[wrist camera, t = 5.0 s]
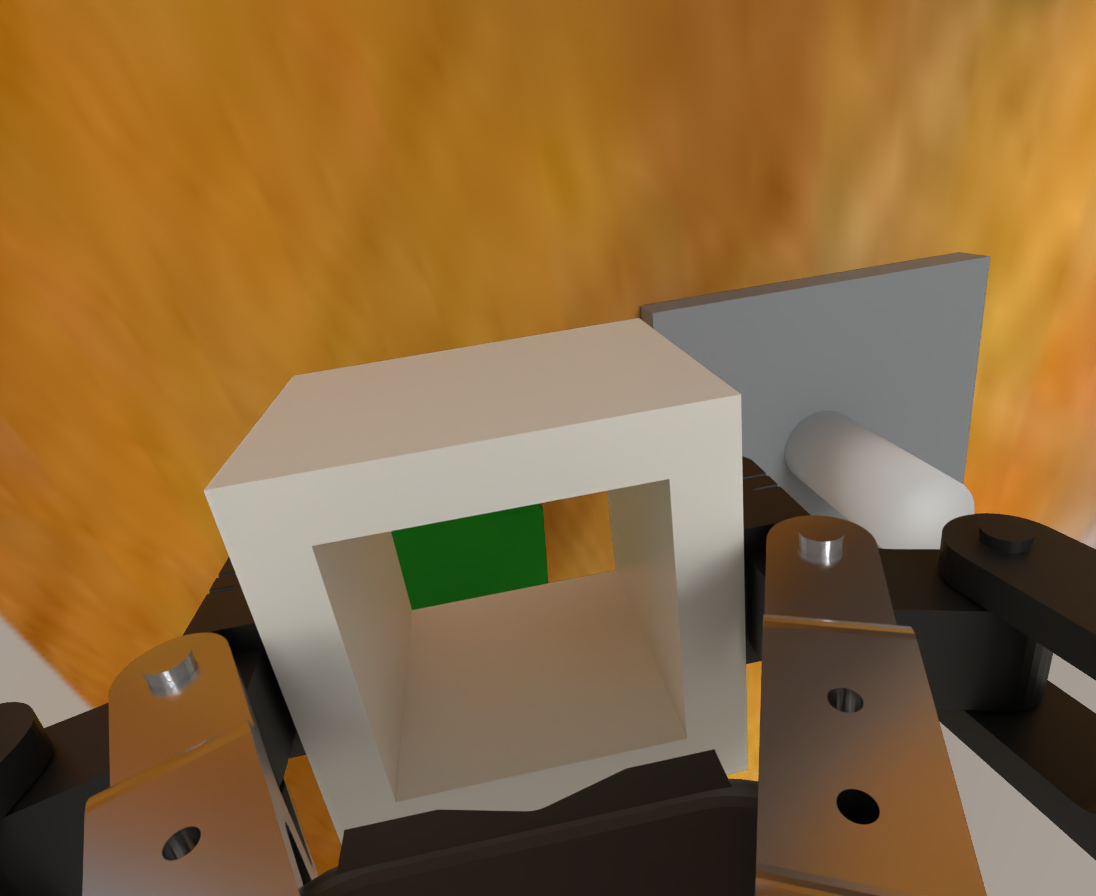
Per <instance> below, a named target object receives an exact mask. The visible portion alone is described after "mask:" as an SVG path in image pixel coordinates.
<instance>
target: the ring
mask: <svg viewBox="0 0 1096 896" xmlns="http://www.w3.org/2000/svg"><path fill="white" fill-rule="evenodd" d="M203 491H204V493H205V496H206V498H207V501H208V504H209V506H210V509H211V511H212V514H213V516H214V519H215V522H216V524H217V527H218V529H219V532H220V534H221V537H222V540H223V542H224V545H225V547H226V550H227V552H228V555H229V557H230V560H231V563H232V565H233V568H234V570H235V573H236V575H237V578H238V581H239V583H240V586H241V588H242V591H243V593H244V596H245V599H246V601H247V604H248V606H249V609H250V611H251V614H252V617H253V619H254V622H255V624H256V627H257V629H258V632H259V634H260V637H261V640H262V642H263V645H264V647H265V650H266V652H267V655H268V658H269V660H270V663H271V665H272V668H273V670H274V673H275V676H276V678H277V681H278V683H279V686H280V688H281V691H282V694H283V696H284V699H285V701H286V704H287V706H288V709H289V711H290V714H291V717H292V719H293V722H294V724H295V727H296V729H297V732H298V735H299V737H300V740H301V742H302V745H303V747H304V750H305V753H306V755H307V758H308V760H309V763H310V765H311V768H312V770H313V773H314V776H315V778H316V781H317V783H318V786H319V788H320V791H321V794H322V796H323V799H324V801H325V804H326V806H327V809H328V812H329V814H330V817H331V819H332V822H333V824H334V827H335V830H336V832H337V835H338V837H339V840H340V842H341V845H342V840H343V834H344V830H346V829H351V828H355V827H360V826H365V825H369V824H374V823H378V822H383V821H388V820H392V819H397V818H401V817H406V816H410V815H415V814H420V813H424V812H429V811H433V810H487V811H534V810H539V809H542V808H544V807H547V806H549V805H551V804H553V803H555V802H557V801H559V800H561V799H563V798H565V797H568V796H570V795H572V794H574V793H576V792H578V791H580V790H582V789H584V788H586V787H588V786H591V785H593V784H595V783H597V782H599V781H601V780H603V779H605V778H607V777H609V776H611V775H614V774H616V773H618V772H620V771H622V770H624V769H626V768H630V767H635V766H640V765H644V764H649V763H653V762H658V761H663V760H667V759H672V758H676V757H681V756H686V755H690V754H695V753H699V752H704V751H708V750H713V749H715V752H716V754H717V756H718V758H719V760H720V762H721V765H722V767H723V769H724V771H725V773H726V774H731V773H735V772H740V771H744V770H748V748H747V693H746V638H745V582H744V527H743V472H742V416H741V394H740V393H739V392H737V391H736V390H735V389H733V388H732V387H731V386H729V385H728V384H727V383H725V382H724V381H723V380H721V379H720V378H719V377H717V376H716V375H715V374H713V373H712V372H710V371H709V370H708V369H706V368H705V367H704V366H702V365H701V364H700V363H698V362H697V361H696V360H694V359H693V358H692V357H690V356H689V355H688V354H686V353H685V352H684V351H682V350H681V349H680V348H678V347H677V346H676V345H674V344H673V343H672V342H670V341H669V340H668V339H666V338H665V337H664V336H662V335H661V334H660V333H658V332H657V331H656V330H654V329H653V328H652V327H650V326H649V325H648V324H646V323H645V322H644V321H642V320H641V319H639V318H635V319H629V320H623V321H617V322H611V323H605V324H599V325H593V326H588V327H582V328H576V329H570V330H564V331H558V332H552V333H546V334H540V335H534V336H528V337H522V338H516V339H510V340H504V341H498V342H492V343H486V344H480V345H474V346H468V347H462V348H456V349H450V350H444V351H439V352H433V353H427V354H421V355H415V356H409V357H403V358H397V359H391V360H385V361H379V362H373V363H367V364H361V365H355V366H349V367H343V368H337V369H331V370H325V371H319V372H313V373H307V374H301V375H296V376H293V377H292V378H291V379H290V381H289V382H288V383H287V384H286V386H285V387H284V388H283V390H282V391H281V392H280V393H279V395H278V396H277V397H276V398H275V400H274V401H273V402H272V404H271V405H270V406H269V407H268V409H267V410H266V411H265V413H264V414H263V415H262V416H261V418H260V419H259V420H258V421H257V423H256V424H255V425H254V427H253V428H252V429H251V430H250V432H249V433H248V434H247V436H246V437H245V438H244V439H243V441H242V442H241V443H240V444H239V446H238V447H237V448H236V450H235V451H234V452H233V453H232V455H231V456H230V457H229V459H228V460H227V461H226V462H225V464H224V465H223V466H222V467H221V469H220V470H219V471H218V473H217V474H216V475H215V476H214V478H213V479H212V480H211V482H210V483H209V484H208V485H207V487H206V488H205V489H204V490H203ZM602 491H607V496H608V504H609V513H610V522H611V531H612V540H613V549H614V558H615V567H616V570H614V571H609V572H604V573H599V574H593V575H588V576H583V577H578V578H573V579H568V580H563V581H558V582H553V583H548V584H543V585H538V586H533V587H527V588H522V589H517V590H512V591H507V592H502V593H497V594H492V595H487V596H482V597H477V598H472V599H466V600H461V601H456V602H451V603H446V604H441V605H436V606H431V607H426V608H421V609H416V610H412V608H411V605H410V601H409V597H408V593H407V590H406V586H405V582H404V579H403V575H402V571H401V567H400V564H399V560H398V556H397V552H396V549H395V545H394V541H393V537H392V534H391V531H394V530H400V529H405V528H410V527H416V526H421V525H426V524H432V523H437V522H442V521H448V520H453V519H458V518H464V517H469V516H474V515H480V514H485V513H490V512H496V511H501V510H506V509H512V508H517V507H522V506H528V505H533V504H538V503H544V502H549V501H554V500H560V499H565V498H570V497H576V496H581V495H586V494H592V493H597V492H602Z"/></svg>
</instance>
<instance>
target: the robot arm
mask: <svg viewBox="0 0 1096 896" xmlns="http://www.w3.org/2000/svg"><path fill="white" fill-rule="evenodd" d="M742 472H743V527H744V582H745V638H746V664H749V663H753V662H758V661H762V676H761V711H760V747H759V782H758V781H750V780H742V779H728V778H727V775H726V773H725V771H724V769H723V767H722V765H721V762H720V760H719V758H718V756H717V754H716V752H715V749H713V750H708V751H704V752H699V753H695V754H690V755H686V756H681V757H676V758H672V759H667V760H663V761H658V762H653V763H649V764H644V765H640V766H635V767H630V768H626V769H624V770H622V771H620V772H618V773H616V774H614V775H611V776H609V777H607V778H605V779H603V780H601V781H599V782H597V783H595V784H593V785H591V786H588V787H586V788H584V789H582V790H580V791H578V792H576V793H574V794H572V795H570V796H568V797H565V798H563V799H561V800H559V801H557V802H555V803H553V804H551V805H549V806H547V807H544V808H542V809H539V810H534V811H487V810H433V811H429V812H424V813H420V814H415V815H410V816H406V817H401V818H397V819H392V820H388V821H383V822H378V823H374V824H369V825H365V826H360V827H355V828H351V829H346V830H344V834H343V840H342V846H341V852H340V858H339V864H338V866H337V867H335V868H333V869H331V870H329V871H327V872H325V873H323V874H321V875H320V876H318V873H317V870H316V867H315V864H314V861H313V858H312V855H311V852H310V849H309V847H308V844H307V841H306V838H305V835H304V832H303V829H302V826H301V823H300V820H299V817H298V814H297V811H296V808H295V805H294V802H293V799H292V796H291V793H290V791H289V788H288V786H287V783H286V781H285V778H284V773H285V770H286V766H287V762H288V759H289V758H292V757H297V756H302V755H306V753H305V750H304V747H303V745H302V742H301V740H300V737H299V735H298V732H297V729H296V727H295V724H294V722H293V719H292V717H291V714H290V711H289V709H288V706H287V704H286V701H285V699H284V696H283V694H282V691H281V688H280V686H279V683H278V681H277V678H276V676H275V673H274V670H273V668H272V665H271V663H270V660H269V658H268V655H267V652H266V650H265V647H264V645H263V642H262V640H261V637H260V634H259V632H258V629H257V627H256V624H255V622H254V619H253V617H252V614H251V611H250V609H249V606H248V604H247V601H246V599H245V596H244V593H243V591H242V588H241V586H240V583H239V581H238V578H237V575H236V573H235V570H234V568H233V565H232V563H231V560H230V557H229V558H228V559H227V561H226V563H225V565H224V566H223V568H222V570H221V571H220V573H219V578H216V580H215V582H214V583H213V585H212V587H211V588H210V590H209V591H210V594H207V595H206V597H205V599H204V600H203V602H202V604H201V605H200V607H199V609H198V611H197V612H196V614H195V616H194V617H193V619H192V621H191V623H190V624H189V626H188V628H187V629H186V631H185V633H184V634H183V636H181V637H178V638H175V639H172V640H169V641H167V642H164V643H162V644H160V645H158V646H156V647H154V648H152V649H150V650H149V651H147V652H145V653H144V654H142V655H141V656H139V657H138V658H136V659H135V660H134V661H133V662H131V663H130V664H129V665H128V666H127V667H126V668H124V669H123V670H122V671H121V673H120V674H119V675H118V676H117V677H116V679H115V680H114V682H113V683H112V685H111V688H110V690H109V696H108V697H109V703H107V704H104V705H102V706H100V707H97V708H95V709H92V710H89V711H87V712H84V713H82V714H79V715H77V716H75V717H72V718H69V719H67V720H64V721H62V722H59V723H56V724H54V725H52V726H49V727H46V728H43V726H42V724H41V723H40V721H39V719H38V718H37V716H36V714H35V713H34V711H33V709H32V708H31V707H30V706H29V705H27V704H24V703H19V702H9V703H8V702H7V703H2V704H0V896H987V894H986V891H985V887H984V883H983V880H982V876H981V873H980V869H979V865H978V862H977V858H976V854H975V851H974V847H973V843H972V840H971V836H970V833H969V829H968V825H967V821H966V818H965V814H964V810H963V807H962V803H961V800H960V796H959V792H958V789H957V785H956V781H955V778H954V774H953V770H952V767H951V763H950V759H949V756H948V752H947V749H946V745H945V741H944V738H943V734H942V730H941V727H940V723H939V721H940V722H941V723H942V724H943V725H944V726H946V727H947V728H948V729H949V730H950V731H951V732H952V733H953V734H954V735H956V736H957V737H958V738H959V739H960V740H961V741H962V742H963V743H965V744H966V745H967V746H968V747H969V748H970V749H971V750H972V751H974V752H975V753H976V754H977V755H978V756H979V757H980V758H981V759H983V760H984V761H985V762H986V763H987V764H988V765H989V766H990V767H991V768H993V769H994V770H995V771H996V772H997V773H998V774H999V775H1001V776H1002V777H1003V778H1004V779H1005V780H1006V781H1007V782H1008V783H1010V784H1011V785H1012V786H1013V787H1014V788H1015V789H1016V790H1017V791H1018V792H1020V793H1021V794H1022V795H1023V796H1024V797H1025V798H1026V799H1027V800H1029V801H1030V802H1031V803H1032V804H1033V805H1034V806H1035V807H1037V808H1038V809H1039V810H1040V811H1041V812H1042V813H1043V814H1044V815H1046V816H1047V817H1048V818H1049V819H1050V820H1051V821H1052V822H1053V823H1055V824H1056V825H1057V826H1058V827H1059V828H1060V829H1061V830H1063V832H1065V833H1066V834H1067V835H1068V836H1069V837H1070V838H1071V839H1073V840H1074V841H1075V842H1076V843H1077V844H1078V845H1079V846H1080V847H1081V848H1083V849H1084V850H1085V851H1086V852H1087V853H1088V854H1089V855H1090V856H1091V857H1093V858H1094V859H1095V860H1096V713H1094V712H1093V711H1091V710H1090V709H1088V708H1087V707H1086V706H1084V705H1083V704H1081V703H1080V702H1078V701H1077V700H1075V699H1074V698H1072V697H1071V696H1070V695H1068V694H1067V693H1065V692H1064V691H1062V690H1061V689H1060V688H1058V687H1057V686H1055V685H1054V684H1052V683H1051V682H1050V681H1048V680H1047V679H1048V674H1049V669H1050V665H1051V660H1052V656H1053V653H1054V654H1056V655H1058V656H1059V657H1061V658H1062V659H1064V660H1065V661H1067V662H1068V663H1070V664H1071V665H1073V666H1075V667H1076V668H1078V669H1079V670H1081V671H1082V672H1084V673H1085V674H1087V675H1088V676H1090V677H1091V678H1093V679H1094V680H1096V549H1094V548H1091V547H1089V546H1087V545H1085V544H1083V543H1081V542H1079V541H1077V540H1075V539H1073V538H1070V537H1068V536H1066V535H1064V534H1062V533H1060V532H1058V531H1056V530H1054V529H1052V528H1049V527H1047V526H1045V525H1042V524H1040V523H1037V522H1034V521H1031V520H1028V519H1024V518H1020V517H1015V516H1010V515H1003V514H989V513H983V514H970V515H965V516H960V517H957V518H955V519H952V520H951V521H949V522H948V523H947V524H946V525H945V526H944V527H943V530H942V535H941V544H940V549H883V548H878V546H877V542H876V540H875V538H874V537H873V536H872V534H871V533H869V532H868V531H867V530H866V529H864V528H863V527H861V526H859V525H857V524H855V523H853V522H850V521H847V520H844V519H840V518H836V517H830V516H819V515H810V514H809V513H808V512H807V511H806V510H805V509H804V508H803V507H802V506H801V505H800V504H799V503H797V502H796V501H795V500H794V499H793V498H792V497H791V496H790V495H789V494H788V493H787V492H786V491H785V490H784V489H783V488H781V487H778V485H777V483H776V482H775V481H774V480H773V479H772V478H771V477H770V476H769V475H768V476H766V473H765V472H764V471H763V470H762V469H761V468H760V467H759V466H758V465H757V464H756V463H755V462H754V461H753V460H751V459H749V458H746V457H744V456H742Z"/></svg>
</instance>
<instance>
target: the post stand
mask: <svg viewBox="0 0 1096 896" xmlns="http://www.w3.org/2000/svg"><path fill="white" fill-rule="evenodd" d="M989 262H990V256H983V255H975V254H968V253H960V252H959V253H953V254H947V255H941V256H935V257H929V258H923V259H917V260H911V261H905V262H899V263H893V264H887V265H881V266H875V267H869V268H863V269H857V270H851V271H845V272H839V273H833V274H827V275H821V276H815V277H809V278H803V279H797V280H791V281H785V282H779V283H773V284H767V285H761V286H755V287H749V288H743V289H737V290H731V291H726V292H720V293H714V294H708V295H702V296H696V297H690V298H684V299H678V300H672V301H666V302H660V303H654V304H648V305H642V306H640V308H641V320H642V321H644V322H645V323H646V324H648V325H649V326H650V327H652V328H653V329H654V330H656V331H657V332H658V333H660V334H661V335H662V336H664V337H665V338H666V339H668V340H669V341H670V342H672V343H673V344H674V345H676V346H677V347H678V348H680V349H681V350H682V351H684V352H685V353H686V354H688V355H689V356H690V357H692V358H693V359H694V360H696V361H697V362H698V363H700V364H701V365H702V366H704V367H705V368H706V369H708V370H709V371H710V372H712V373H713V374H715V375H716V376H717V377H719V378H720V379H721V380H723V381H724V382H725V383H727V384H728V385H729V386H731V387H732V388H733V389H735V390H736V391H737V392H739V393H740V394H741V416H742V456H744V457H746V458H749V459H751V460H753V461H754V462H755V463H756V464H757V465H758V466H759V467H760V468H761V469H762V470H763V471H764V472H765V473H766V476H768V475H769V476H770V477H771V478H772V479H773V480H774V481H775V482H776V483H777V485H778V487H781V488H783V489H784V490H785V491H786V492H787V493H788V494H789V495H790V496H791V497H792V498H793V499H794V500H795V501H796V502H797V503H799V504H800V505H801V506H802V507H803V508H804V509H805V510H806V511H807V512H808V513H809V514H810V515H819V516H830V517H836V518H840V519H844V520H847V521H850V522H853V523H855V524H857V525H859V526H861V527H863V528H864V529H866V530H867V531H868V532H869V533H871V534H872V536H873V537H874V538H875V540H876V542H877V546H878V548H883V549H940V544H941V535H942V530H943V527H944V526H945V525H946V524H947V523H948V522H949V521H951V520H952V519H955V518H957V517H960V516H965V515H970V514H974V501H973V497H972V495H971V493H970V491H969V490H968V489H967V488H966V487H965V486H964V485H963V481H964V472H965V464H966V456H967V447H968V439H969V430H970V422H971V414H972V405H973V397H974V388H975V380H976V371H977V363H978V355H979V346H980V338H981V329H982V321H983V313H984V304H985V296H986V287H987V279H988V270H989Z"/></svg>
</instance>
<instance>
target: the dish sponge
mask: <svg viewBox="0 0 1096 896" xmlns="http://www.w3.org/2000/svg"><path fill="white" fill-rule="evenodd" d="M391 534H392V537H393V541H394V545H395V549H396V552H397V556H398V560H399V564H400V567H401V571H402V575H403V579H404V582H405V586H406V590H407V593H408V597H409V601H410V605H411V608H412V610H416V609H421V608H426V607H431V606H436V605H441V604H446V603H451V602H456V601H461V600H466V599H472V598H477V597H482V596H487V595H492V594H497V593H502V592H507V591H512V590H517V589H522V588H527V587H533V586H538V585H543V584H548V574H547V560H546V546H545V532H544V519H543V508H542V505H541V503H538V504H533V505H528V506H522V507H517V508H512V509H506V510H501V511H496V512H490V513H485V514H480V515H474V516H469V517H464V518H458V519H453V520H448V521H442V522H437V523H432V524H426V525H421V526H416V527H410V528H405V529H400V530H394V531H391Z"/></svg>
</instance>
